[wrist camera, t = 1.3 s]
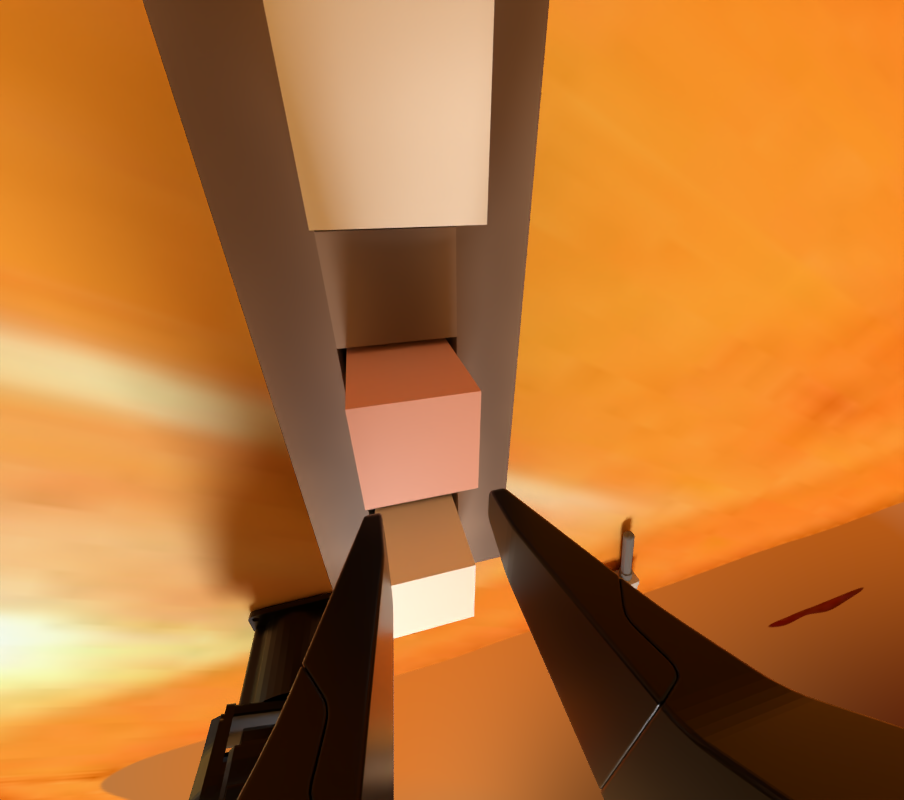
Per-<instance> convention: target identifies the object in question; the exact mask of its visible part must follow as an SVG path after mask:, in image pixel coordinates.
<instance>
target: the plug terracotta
mask: <svg viewBox="0 0 904 800" xmlns="http://www.w3.org/2000/svg"><path fill="white" fill-rule="evenodd" d="M345 412H346V417H347V422H348V427H349V432H350V437H351V442H352V447H353V452H354V457H355V462H356V467H357V472H358V477H359V482H360V487H361V492H362V497H363V502H364V507H365V510H369V509H374V508H379V507H384V506H389V505H394V504H399V503H405V502H410V501H415V500H420V499H425V498H430V497H435V496H440V495H445V494H450V493H455V492H460V491H465V490H470V489H475V488H478V478H479V448H480V418H481V390H480V388H479V387H478V385H477V384H476V382H475V381H474V379H473V378H472V377H471V375H470V374H469V372H468V371H467V369H466V368H465V366H464V365H463V363H462V362H461V360H460V359H459V358H458V356H457V355H456V353H455V352H454V350H453V349H452V347H451V346H450V344H449V343H448V341H447V340H446V339H445V338H439V339H429V340H419V341H409V342H400V343H390V344H380V345H370V346H360V347H350V348H347V356H346V393H345Z"/></svg>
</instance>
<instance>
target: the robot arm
mask: <svg viewBox="0 0 904 800" xmlns="http://www.w3.org/2000/svg"><path fill="white" fill-rule="evenodd" d="M488 517H489V521H490V525H491V528H492V531H493V534H494V537H495V541H496V544H497V547H498V550H499V553H500V557H501V560H502V563H503V566H504V569H505V572H506V575H507V578H508V580H509V583H510V585H511V587H512V590H513V592H514V594H515V596H516V599H517V601H518V603H519V606H520V608H521V610H522V612H523V615H524V617H525V619H526V622H527V624H528V626H529V628H530V631H531V633H532V635H533V638H534V640H535V642H536V644H537V647H538V649H539V651H540V654H541V656H542V658H543V660H544V663H545V665H546V667H547V670H548V672H549V674H550V676H551V679H552V681H553V683H554V685H555V688H556V690H557V692H558V695H559V697H560V699H561V701H562V704H563V706H564V708H565V711H566V713H567V715H568V717H569V719H570V722H571V724H572V727H573V729H574V731H575V733H576V736H577V738H578V740H579V742H580V745H581V747H582V749H583V752H584V754H585V756H586V758H587V761H588V763H589V765H590V768H591V770H592V772H593V775H594V777H595V779H596V781H597V784H598V786H599V788H600V789H601V793H602V795H603V797H604V800H904V728H902V727H899V726H896V725H893V724H890V723H887V722H884V721H881V720H878V719H875V718H872V717H869V716H865V715H862V714H860V713H856V712H853V711H850V710H847V709H844V708H841V707H838V706H835V705H832V704H829V703H826V702H823V701H820V700H817V699H814V698H811V697H808V696H806V695H803V694H801V693H799V692H796V691H794V690H791V689H790V688H787V687H785V686H783V685H781V684H779V683H777V682H775V681H774V680H772V679H770V678H768V677H767V676H765V675H763V674H762V673H760V672H758V671H757V670H755V669H754V668H752V667H750V666H749V665H748V664H746V663H744V662H743V661H741V660H740V659H738V658H737V657H735V656H734V655H732V654H731V653H729V652H728V651H726V650H725V649H723V648H721V647H720V646H718V645H717V644H715V643H714V642H712V641H711V640H709V639H708V638H706V637H705V636H703V635H702V634H700V633H699V632H697V631H695V630H694V629H692V628H691V627H689V626H688V625H686V624H685V623H683V622H682V621H680V620H679V619H678V618H676V617H675V616H673V615H672V614H670V613H669V612H667V611H666V610H664V609H663V608H661V607H660V606H659V605H657V604H656V603H654V602H653V601H652V600H650V599H649V598H648V597H646V596H645V595H644V594H642V593H641V592H640V591H638V590H637V589H636V588H634V587H633V586H632V585H630V584H629V583H628V582H626V581H625V580H624V579H622V578H620V579H619V576H618V575H617V574H616V573H615V572H613V571H612V570H611V569H609V568H608V567H607V566H605V565H604V564H603V563H602V562H600V561H599V560H598V559H596V558H595V557H594V556H592V555H591V554H590V553H588V552H587V551H586V550H585V549H583V548H582V547H581V546H579V545H578V544H577V543H575V542H574V541H573V540H572V539H570V538H569V537H568V536H566V535H565V534H564V533H562V532H561V531H560V530H559V529H557V528H556V527H555V526H553V525H552V524H551V523H549V522H548V521H547V520H546V519H544V518H543V517H542V516H540V515H539V514H538V513H536V512H535V511H534V510H533V509H531V508H530V507H529V506H527V505H526V504H525V503H523V502H522V501H521V500H520V499H518V498H517V497H516V496H514V495H513V494H512V493H510V492H509V491H508V490H506V489H504V488H501V489H496V490H492V491H490V493H489V503H488ZM249 623H250V625H251V626H252V628H253V630H254V631H255V634H254V639H253V643H252V648H251V652H250V657H249V661H248V666H247V670H246V675H245V679H244V684H243V688H242V693H241V697H240V702H239V705H236V703H234V704H227V707H226V711H225V714H221V716H219V717H217V718H215V719H213V720H212V721H211V724H210V728H209V732H208V735H207V739H206V743H205V747H204V750H203V754H202V757H201V761H200V764H199V768H198V771H197V774H196V778H195V781H194V785H193V788H192V791H191V794H190V798H189V800H394V796H393V795H394V791H393V790H394V784H393V783H394V777H393V776H394V772H393V769H394V761H393V759H394V757H393V756H394V754H393V752H394V751H393V750H394V745H393V744H394V742H393V741H394V737H393V736H394V731H393V730H394V729H393V728H394V726H393V598H392V588H391V580H390V571H389V563H388V554H387V546H386V538H385V532H384V525H383V519H382V515H381V514H380V513H376V514H371V515H367V516H365V517H364V518H363V520H362V523H361V525H360V528H359V530H358V532H357V535H356V537H355V539H354V542H353V544H352V546H351V549H350V551H349V554H348V556H347V558H346V561H345V563H344V565H343V568H342V570H341V573H340V575H339V577H338V580H337V582H336V584H335V587H334V589H333V592H332V593H328V594H323V595H319V596H315V597H311V598H307V599H303V600H299V601H294V602H290V603H286V604H282V605H278V606H274V607H269V608H265V609H261V610H257V611H254V612H252V613H250V616H249ZM232 747H233V748H232ZM226 748H232V749H231V750H230V751H229V752H227V753H225V750H226Z"/></svg>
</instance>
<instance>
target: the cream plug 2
mask: <svg viewBox="0 0 904 800" xmlns="http://www.w3.org/2000/svg"><path fill="white" fill-rule="evenodd" d="M376 513H380V514H381V515H382V519H383V525H384V532H385V538H386V546H387V554H388V563H389V571H390V580H391V588H392V598H393V639H394V638H397V637H401V636H405V635H408V634H412V633H415V632H419V631H423V630H426V629H430V628H433V627H437V626H441V625H444V624H448V623H452V622H455V621H459V620H462V619H466V618H470V617H473V616H474V598H475V568H476V565H475V562H474V559H473V556H472V553H471V550H470V547H469V544H468V542H467V539H466V536H465V533H464V530H463V527H462V524H461V521H460V518H459V515H458V512H457V509H456V506H455V504H454V501H453V498H452V495H451V494H447V495H442V496H436V497H431V498H426V499H421V500H416V501H411V502H406V503H401V504H396V505H391V506H386V507H381V508H376V509H375V514H376Z"/></svg>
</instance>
